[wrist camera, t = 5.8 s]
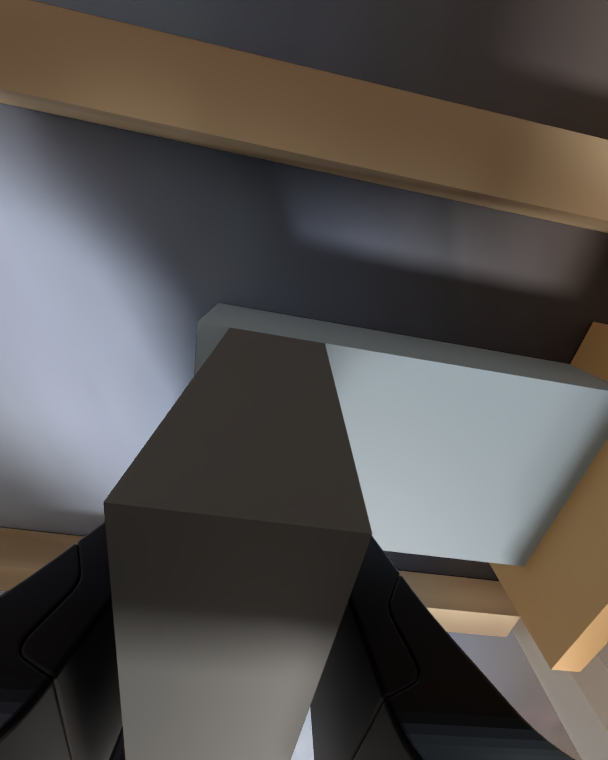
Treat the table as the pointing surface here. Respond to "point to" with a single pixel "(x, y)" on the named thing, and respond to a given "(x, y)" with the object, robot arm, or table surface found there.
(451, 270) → the table surface
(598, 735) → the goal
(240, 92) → the rails
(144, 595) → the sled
